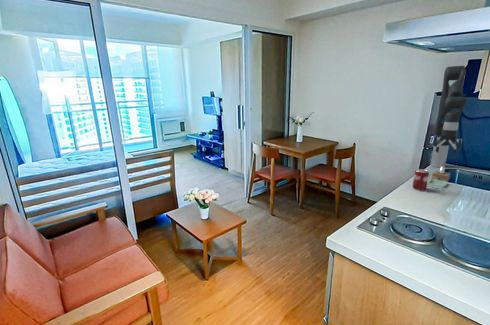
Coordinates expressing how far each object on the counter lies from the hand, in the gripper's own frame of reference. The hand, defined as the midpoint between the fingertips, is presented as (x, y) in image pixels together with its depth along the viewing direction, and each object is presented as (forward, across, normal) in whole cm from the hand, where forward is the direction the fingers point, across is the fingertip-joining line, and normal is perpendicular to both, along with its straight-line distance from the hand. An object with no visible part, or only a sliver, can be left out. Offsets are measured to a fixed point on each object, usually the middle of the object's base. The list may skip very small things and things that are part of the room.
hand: (445, 153), depth 168 cm
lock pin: (+18, 0, 0) cm, 18 cm away
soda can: (+19, +5, +26) cm, 33 cm away
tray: (+19, -1, +13) cm, 23 cm away
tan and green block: (+19, 0, +1) cm, 19 cm away
